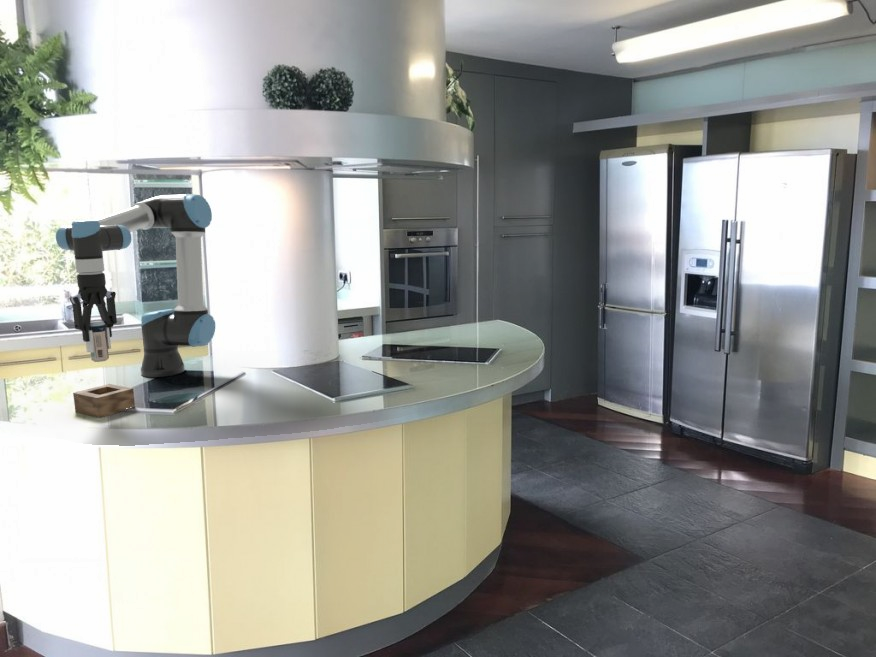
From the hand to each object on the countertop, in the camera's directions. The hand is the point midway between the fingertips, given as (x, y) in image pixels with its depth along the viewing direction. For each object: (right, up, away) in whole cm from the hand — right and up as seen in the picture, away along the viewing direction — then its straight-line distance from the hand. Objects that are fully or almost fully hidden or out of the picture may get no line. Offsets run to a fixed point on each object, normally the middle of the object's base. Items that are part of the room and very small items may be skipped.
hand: (99, 350), depth 216 cm
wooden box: (0, -18, +3) cm, 19 cm away
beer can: (0, -3, +1) cm, 3 cm away
